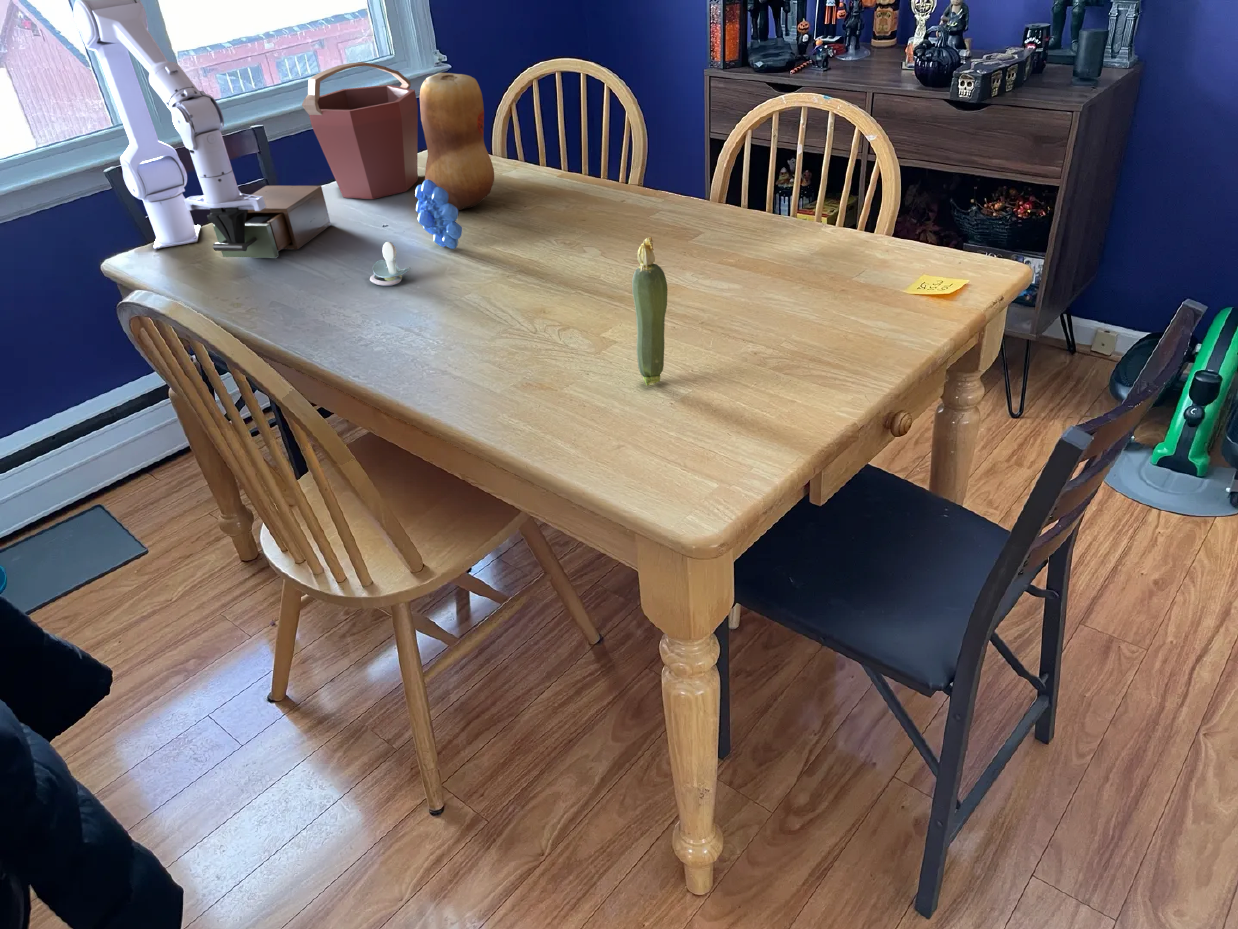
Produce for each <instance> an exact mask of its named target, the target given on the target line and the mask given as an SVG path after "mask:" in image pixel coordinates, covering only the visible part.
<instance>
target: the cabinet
mask: <svg viewBox="0 0 1238 929" xmlns="http://www.w3.org/2000/svg"><path fill="white" fill-rule="evenodd" d="M323 191H324V190H323V187H322V185H265V186H263V187H262V188H260V189H258V190H256V191H254V192H253V193H251V195H253V196H263V199H264V202H265V206H266V207H265V208H264V209H262V210H261V211H255V210H253V209H248V212H249V213H284V215H285V218H286V222H287V225H288V229H289V232H290V236H291V240H292V242H291V243H289V244H288V245H287V246H285V247H284V248H283V249H282V250H299V249H301V248H302V247H303V246H305V245H306V244H307V243H309V242H310V241H311V240H313V239H314V238H315V237H317V236H318V235H319V234H321V233H322V232H323V231H325V230H326V229H328V228H329V227H330V226H331V225H332V223H331V219H330V215H329V210H328V206H327V202H326V199H325V196H324V192H323Z"/></svg>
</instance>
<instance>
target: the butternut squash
mask: <svg viewBox="0 0 1238 929" xmlns="http://www.w3.org/2000/svg"><path fill="white" fill-rule="evenodd" d="M419 109H420V122H421V125H422V129H423V130H422V131H423V134H424V135H423V136H424V141H425V144H426V145H425V146H426V150H427V156H426V163H425V169H424V170H425V171H424V180H427V179H428V180H431V181H433V182H434V183H435V184H436V185H437V186H438V187H441V188H443V189H444V190H446V191H447V193H448V197H449V198H448V202H447V203H449V204H452V205H453V206H455V207H456V208H457V209H458V211H461V210H463V209H471V208H473V207H476V206H478V205H479V204H480V203H481V202H482V201H483V200H484V199H486V198H487V197H488V196H489V195H490V194H491V192H492V189H493V186H494V183H495V169H494V165H493V162H492V159H491V157H490V154H489V151H487V147H486V144H485V139H484V135H485V134H484V132H485V130H484V129H485V108H484V99H483V93H482V90H481V88H480V85H479V83H478V81H477V79H476V78H475V77H472V76H471V75H468V74H464V73H453V72H437V73H436V74H433V75H430V76H427V77H426V78H425V79H424V80H423V82H422V84H421V86H420V90H419Z"/></svg>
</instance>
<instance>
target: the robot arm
mask: <svg viewBox="0 0 1238 929" xmlns="http://www.w3.org/2000/svg"><path fill="white" fill-rule="evenodd" d="M72 9H73V10H72V14H73V18H74V21H75V24H76V26H77V29H78V33H79V34H80V38H81V40H82V43H84V46H85V48H86V49H87V50H91V51H95V53H96V55H97V58H98V59H99V62H100V64H101V67H102V70H103V73H104V75H105V78H106V81H107V84H108V86H109V88H110V92H111V95H112V97H113V100H114V103H115V106H116V108H117V111H118V114H119V116H120V120H121V122H122V124H123V127H124V130H125V133H126V136H127V138H128V141H129V145H128V146H127V148H126V149H125V151H124V152H123V154H122V155H121V156H120V158H119V161H120V162H119V163H120V166H121V169H122V178H123V180H124V184H125V185H126V188H127V189H128V191H129V192H130V194H131V195H132V196H133V197H135V198H136V199H138V200H142V202H143V206H144V209H145V211H146V214H147V216H148V219H149V222H150V225H151V227H152V230H153V232H154V235H155V241H154V244H153V249H155V250H157V249H163V248H168V247H169V248H170V247H175V246H181V245H186V244H193V243H197V242H198V241H199V240H198V239H199V235H200V231H201V228H202V227H201V225H200V224H197V225H195V223H194V220H193V217H192V213H191V211H195V210H210V211H209V214H207V215H206V217H207V220H208V221H209V222H210V223H211V224H213V225H215V226H216V227H217V228H218V229H219V231H220V232H221V233H222V234H223V236H224V237H225V239H226V240H227V242H228V243H245V221H246V216H247V212H248V209H253V210H255V211H261V210H262V209H264V208H265V207H266V206H265V202H264V199H263V196H253V195H252V194H246V193H242V192H241V191H240V190H239V187H238V183H237V181H236V180H237V179H236V176H235V173H234V170H233V166H232V164H231V160H230V158H229V154H228V151H227V147H226V144H225V140H224V137H223V135H222V134H223V133H222V130H223V129H224V127H225V119H224V114H223V113H222V110H221V107H220V106H219V104H218V102H217V101H216V99H215V98H214V97H213V96H212V95H211V94H208V93H206V92H205V91H204V90H199V89H198V87H197V86H196V85H195V84H194V82H193V81H192V80H191V78H190V77H189V76H188V75H187V73H186V72H185V70H183V69H182V67H181V66H180V65H179V64H178V63H176V62H173V61H168V59H167V58H166V56H165V54H164V53H163V51H162V50H161V48H160V46H159V45H158V43H157V42H156V40H155V39H154V37H153V36H152V34H151V33H150V31H149V24H148V23H149V22H148V16H147V12H146V9H145V7H144V4H143V2H142V0H75V1H74V4H73V8H72ZM129 52H130V53H131V54H132V56H133V57H134V58H135V59H136V61H138V62H139V63H140V64H141V66H142V67H143V68H144V69H145V70H146V71H147V72H148V73H149V75H148V83H149V85H150V86H151V87H152V89H153V90H154V91H155V93H156V94H157V95H158V97H159V98H160V99H161V100H162V102H163V103H164V105H165V106H166V108H168V110H169V111H170V112H171V120H172V123H173V125H174V127H175V129H176V131H177V132H178V135H179V136H180V138H181V141H182V143H183V145H184V147H185V148H186V149H188V151H189V154H190V157H191V160H192V164H193V167H194V170H195V173H196V175H197V178H198V181H199V182H198V183H199V185H200V187H201V190H202V195H190V196H188V197H185V196H184V194H183V193H184V192H186V189H185V187H186V186H187V183H188V173H187V170H186V168H185V166H184V164H183V162H182V160H180V157H179V155H178V152H177V151H176V149H175V148H174V147H173V146H171V145H170V144H167V143H164V142H163V141H160V140H159V137H158V134H157V131H156V128H155V125H154V123H153V120H152V117H151V114H150V111H149V107H148V106H147V102H146V100H145V97H144V94H143V91H142V88H141V85H140V82H139V79H138V77H137V74H136V71H135V68H134V65H133V62H132V59H131V56H130V53H129Z"/></svg>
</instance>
